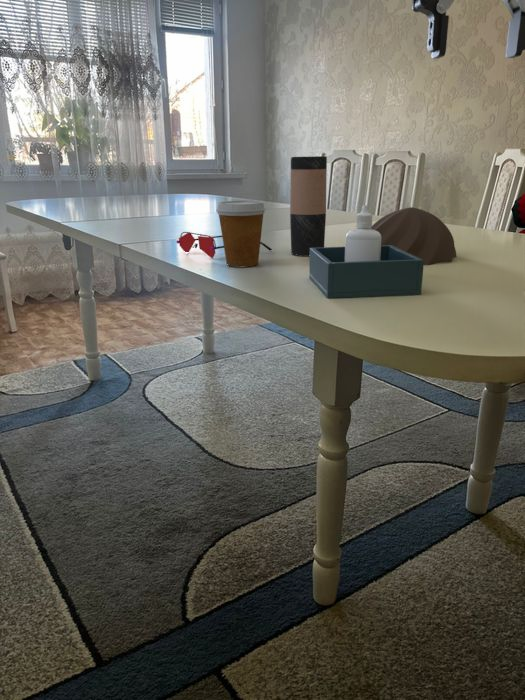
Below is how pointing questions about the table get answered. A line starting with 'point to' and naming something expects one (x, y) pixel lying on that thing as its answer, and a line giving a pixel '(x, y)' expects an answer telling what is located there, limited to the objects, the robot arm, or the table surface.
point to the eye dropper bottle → (363, 240)
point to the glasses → (201, 243)
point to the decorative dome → (417, 235)
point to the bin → (365, 273)
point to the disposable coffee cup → (241, 231)
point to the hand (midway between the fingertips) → (475, 57)
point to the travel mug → (307, 203)
